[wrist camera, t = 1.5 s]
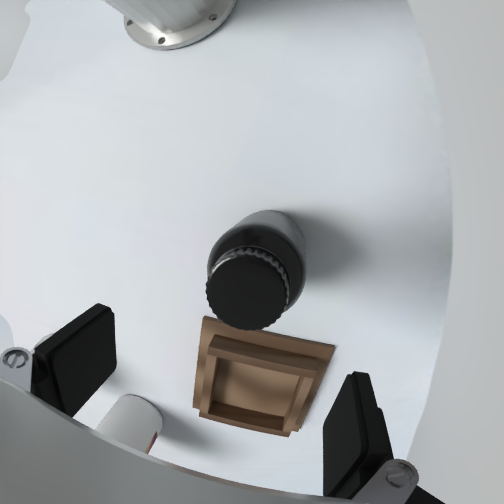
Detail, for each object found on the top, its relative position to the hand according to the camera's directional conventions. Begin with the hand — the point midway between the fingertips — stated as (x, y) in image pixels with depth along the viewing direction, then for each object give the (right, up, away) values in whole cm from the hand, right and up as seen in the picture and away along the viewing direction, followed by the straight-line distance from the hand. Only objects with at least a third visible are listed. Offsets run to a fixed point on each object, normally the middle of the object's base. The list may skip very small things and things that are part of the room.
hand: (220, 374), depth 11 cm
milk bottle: (-15, -19, +27) cm, 37 cm away
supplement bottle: (+3, +5, +18) cm, 19 cm away
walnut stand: (+2, -10, +22) cm, 24 cm away
